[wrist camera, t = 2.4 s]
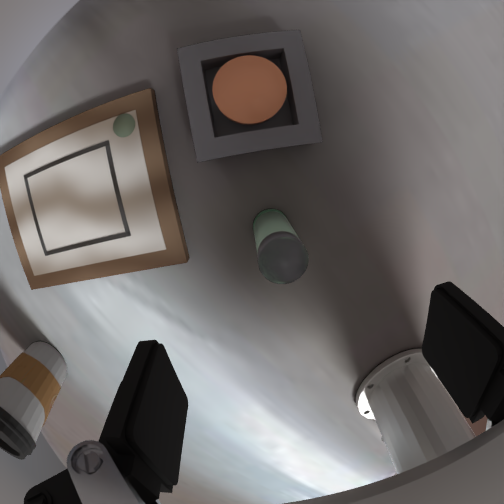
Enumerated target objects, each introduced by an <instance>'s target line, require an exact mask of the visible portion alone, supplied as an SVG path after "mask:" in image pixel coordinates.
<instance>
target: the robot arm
mask: <svg viewBox="0 0 504 504" xmlns="http://www.w3.org/2000/svg"><path fill="white" fill-rule="evenodd" d="M438 378H439V379H440V381H441V382H442V384H443V385H444V387H445V388H446V389H447V391H448V392H449V394H450V395H451V397H452V398H453V400H454V401H455V403H456V404H457V406H458V407H459V409H460V410H461V412H462V413H463V415H464V416H465V417H466V418H470V420H471V422H472V423H474V422H476V421H478V420H479V419H481V418H483V417H484V415H486V417H487V418H488V420H487V427H486V431H485V432H483V433H482V434H480V435H478V436H477V437H476V436H475V434H474V433H473V431H472V430H471V428H470V426H469V425H468V423H467V422H466V420H465V419H464V417H463V415H462V414H461V412H460V411H459V409H458V408H457V406H456V405H455V403H454V402H453V400H452V399H451V397H450V396H449V394H448V393H447V391H446V390H445V388H444V387H443V386H442V384H441V383H440V381H439V380H438ZM356 405H357V408H358V411H359V412H360V414H361V415H363V416H364V417H366V418H369V419H375V420H376V423H377V425H378V427H379V430H380V432H381V435H382V438H381V439H382V441H383V442H385V444H386V447H387V449H388V452H389V454H390V457H391V459H392V462H393V464H394V467H395V470H396V472H397V475H394V476H392V477H389V478H386V479H383V480H380V481H377V482H374V483H371V484H368V485H365V486H361V487H358V488H354V489H351V490H347V491H343V492H339V493H335V494H331V495H327V496H322V497H318V498H313V499H308V500H302V501H296V502H290V503H284V504H504V327H503V326H502V325H501V324H500V323H499V322H498V321H496V320H495V319H494V318H493V317H492V316H491V315H490V314H489V313H487V312H486V311H485V310H484V309H483V308H482V307H481V306H479V305H478V304H477V303H476V302H475V301H474V300H472V299H471V298H470V297H469V296H468V295H466V294H465V293H464V292H463V291H462V290H460V289H459V288H458V287H457V286H455V285H454V284H453V283H452V282H445V283H442V284H439V285H436V286H435V288H434V290H433V291H432V293H431V298H430V305H429V312H428V318H427V324H426V329H425V335H424V340H423V345H422V349H411V350H408V351H404V352H401V353H399V354H397V355H394V356H393V357H391V358H389V359H387V360H386V361H384V362H383V363H381V364H380V365H379V366H377V367H376V368H375V369H374V370H373V371H372V372H371V373H370V374H369V375H368V376H367V377H366V378H365V379H364V381H363V382H362V384H361V385H360V387H359V389H358V391H357V394H356ZM187 410H188V399H187V396H186V394H185V392H184V390H183V388H182V385H181V383H180V381H179V379H178V377H177V375H176V373H175V370H174V368H173V366H172V364H171V361H170V359H169V357H168V354H167V352H166V350H165V347H164V345H163V344H159V343H158V342H157V341H156V340H148V341H140V342H139V343H138V345H137V347H136V349H135V352H134V354H133V356H132V359H131V361H130V363H129V366H128V368H127V371H126V373H125V376H124V378H123V381H122V382H121V384H120V386H119V388H118V391H117V393H116V396H115V398H114V401H113V404H112V406H111V409H110V411H109V414H108V417H107V419H106V422H105V425H104V428H103V430H102V433H101V436H100V439H99V442H98V441H93V440H88V441H83V442H81V443H79V444H77V445H76V446H74V447H73V449H72V450H71V451H70V452H69V455H68V457H67V469H66V470H64V471H62V472H61V473H58V474H57V475H55V476H53V477H51V478H49V479H48V480H46V481H44V482H42V483H40V484H38V485H36V486H34V487H33V488H31V489H30V490H29V491H28V492H27V494H26V496H25V498H24V504H161V503H160V502H159V500H158V499H159V494H160V492H168V493H172V489H173V485H177V483H178V477H179V469H180V461H181V453H182V445H183V438H184V431H185V424H186V417H187Z"/></svg>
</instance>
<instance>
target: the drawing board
mask: <svg viewBox="0 0 504 504" xmlns="http://www.w3.org/2000/svg"><path fill="white" fill-rule="evenodd" d="M0 189H1V193H2V198H3V202H4V207H5V211H6V215H7V218H8V222H9V226H10V229H11V233H12V236H13V239H14V243H15V246H16V249H17V252H18V255H19V258H20V261H21V263H22V266H23V269H24V272H25V274H26V277H27V280H28V282H29V285H30V287H31V290H33V289H38V288H44V287H50V286H55V285H61V284H67V283H72V282H78V281H84V280H90V279H95V278H101V277H107V276H112V275H118V274H124V273H130V272H135V271H141V270H147V269H152V268H158V267H164V266H170V265H175V264H181V263H187V262H188V260H189V258H190V257H189V253H188V249H187V245H186V241H185V237H184V233H183V229H182V225H181V221H180V217H179V212H178V208H177V204H176V199H175V195H174V190H173V186H172V181H171V177H170V172H169V167H168V162H167V157H166V152H165V147H164V142H163V137H162V131H161V126H160V120H159V115H158V109H157V103H156V97H155V91H154V90H153V89H151V88H149V89H146V90H142V91H139V92H136V93H133V94H130V95H127V96H124V97H121V98H119V99H116V100H113V101H110V102H108V103H105V104H102V105H100V106H97V107H95V108H92V109H90V110H87V111H85V112H83V113H80V114H78V115H76V116H74V117H71V118H69V119H67V120H65V121H63V122H60V123H58V124H56V125H54V126H52V127H50V128H48V129H46V130H44V131H42V132H40V133H38V134H36V135H35V136H33V137H31V138H29V139H27V140H25V141H24V142H22V143H20V144H18V145H17V146H15V147H13V148H12V149H10V150H8V151H7V152H5V153H3V154H2V155H0Z"/></svg>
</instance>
